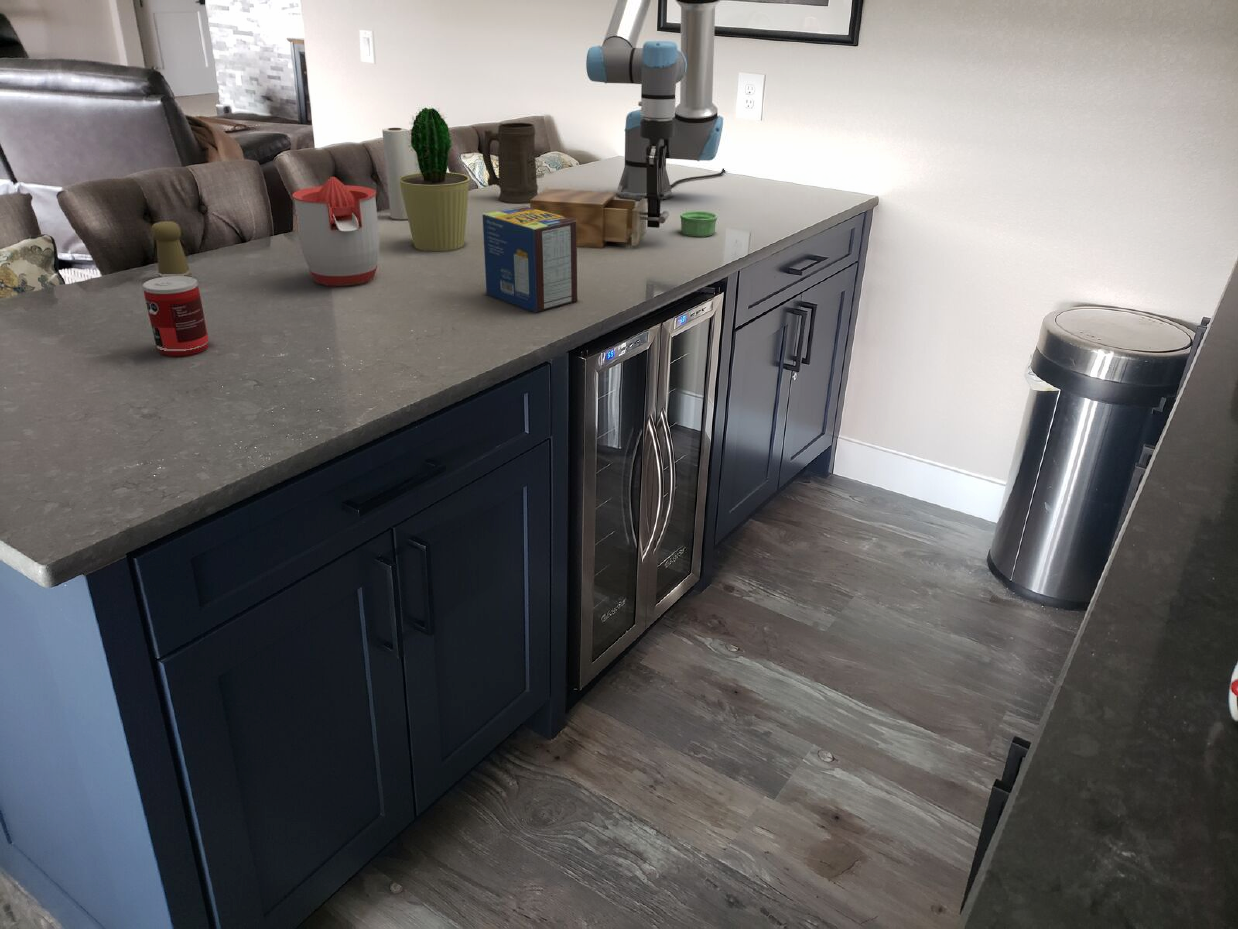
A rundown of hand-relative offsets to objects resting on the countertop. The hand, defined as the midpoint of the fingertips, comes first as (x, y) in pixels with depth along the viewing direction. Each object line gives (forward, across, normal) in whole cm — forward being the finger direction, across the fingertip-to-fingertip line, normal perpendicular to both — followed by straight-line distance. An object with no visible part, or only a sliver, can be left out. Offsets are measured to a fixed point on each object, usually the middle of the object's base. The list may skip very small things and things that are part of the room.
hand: (653, 226), depth 214 cm
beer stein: (+4, -38, -46) cm, 60 cm away
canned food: (+4, +87, -62) cm, 107 cm away
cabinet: (+4, 0, -19) cm, 19 cm away
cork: (+4, +52, -88) cm, 102 cm away
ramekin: (+4, -13, +9) cm, 16 cm away
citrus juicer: (+4, +45, -55) cm, 71 cm away
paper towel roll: (+4, -9, -65) cm, 66 cm away
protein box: (+4, +47, -16) cm, 50 cm away
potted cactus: (+4, +14, -47) cm, 49 cm away
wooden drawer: (+3, 0, -8) cm, 8 cm away
